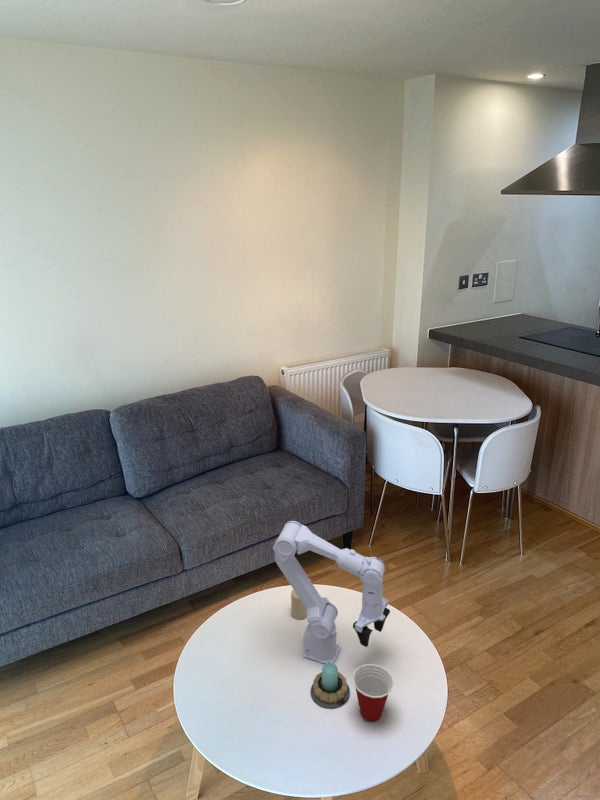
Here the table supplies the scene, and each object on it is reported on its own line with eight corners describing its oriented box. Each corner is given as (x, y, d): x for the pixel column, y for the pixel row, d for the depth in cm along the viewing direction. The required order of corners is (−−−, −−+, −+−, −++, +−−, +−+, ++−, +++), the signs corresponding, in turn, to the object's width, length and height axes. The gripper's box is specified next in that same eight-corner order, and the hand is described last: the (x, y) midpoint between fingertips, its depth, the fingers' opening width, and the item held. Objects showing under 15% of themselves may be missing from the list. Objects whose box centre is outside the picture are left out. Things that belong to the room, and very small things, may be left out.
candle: (296, 622, 193) (295, 596, 189) (288, 611, 197) (288, 587, 194) (311, 616, 195) (310, 591, 192) (303, 606, 200) (302, 582, 196)
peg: (319, 694, 164) (319, 672, 162) (325, 683, 168) (325, 661, 165) (334, 699, 163) (334, 677, 160) (339, 687, 167) (340, 665, 164)
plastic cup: (383, 737, 152) (384, 701, 148) (345, 720, 157) (345, 685, 153) (398, 706, 161) (399, 672, 157) (361, 691, 166) (362, 657, 162)
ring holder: (304, 701, 163) (304, 691, 162) (319, 672, 173) (319, 663, 172) (341, 714, 159) (341, 704, 158) (355, 684, 168) (355, 675, 167)
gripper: (370, 619, 160) (369, 658, 165) (397, 591, 171) (395, 629, 176) (348, 608, 165) (348, 646, 169) (376, 582, 175) (375, 619, 180)
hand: (371, 637), depth 173 cm, fingers open, 7 cm apart
